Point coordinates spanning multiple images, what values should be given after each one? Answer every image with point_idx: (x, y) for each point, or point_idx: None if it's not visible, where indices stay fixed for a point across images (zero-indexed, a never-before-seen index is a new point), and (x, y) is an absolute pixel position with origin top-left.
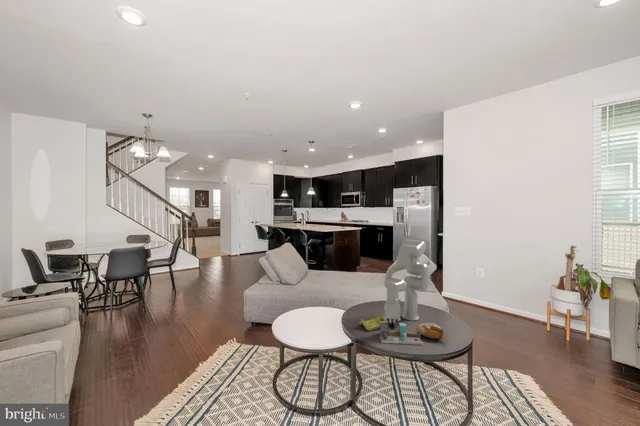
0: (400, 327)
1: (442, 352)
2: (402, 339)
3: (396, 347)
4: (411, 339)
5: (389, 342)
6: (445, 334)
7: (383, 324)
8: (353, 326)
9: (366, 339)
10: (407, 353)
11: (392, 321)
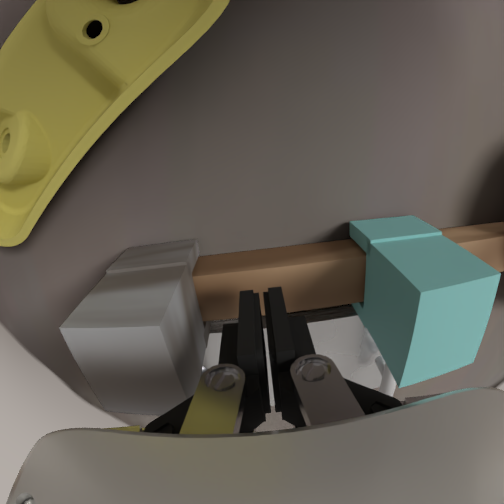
0: (391, 368)
1: (500, 375)
2: (355, 361)
3: (280, 426)
4: None
5: None
6: None
7: (128, 405)
8: None
9: (64, 365)
10: None
11: (285, 400)
